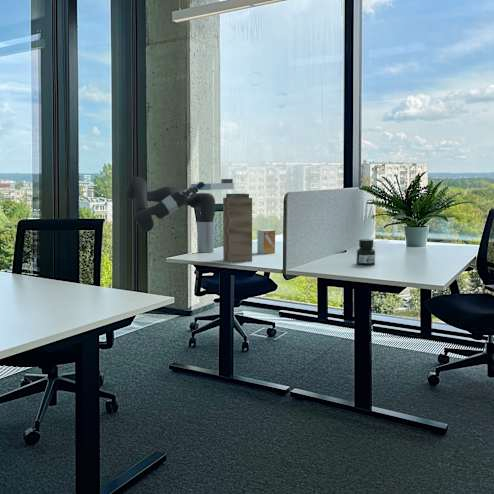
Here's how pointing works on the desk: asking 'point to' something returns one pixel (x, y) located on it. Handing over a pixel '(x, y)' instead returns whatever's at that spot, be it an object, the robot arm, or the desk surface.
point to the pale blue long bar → (217, 185)
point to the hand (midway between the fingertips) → (202, 183)
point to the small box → (266, 241)
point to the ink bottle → (365, 252)
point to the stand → (237, 228)
